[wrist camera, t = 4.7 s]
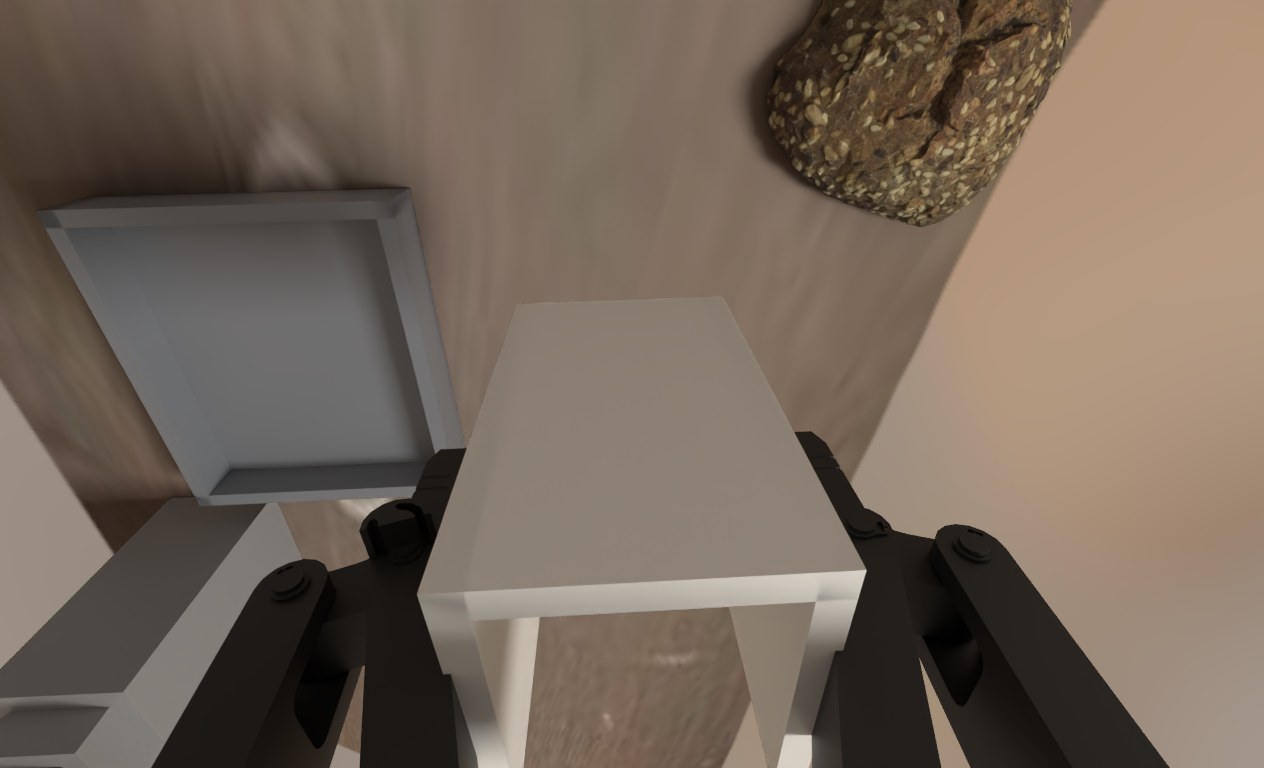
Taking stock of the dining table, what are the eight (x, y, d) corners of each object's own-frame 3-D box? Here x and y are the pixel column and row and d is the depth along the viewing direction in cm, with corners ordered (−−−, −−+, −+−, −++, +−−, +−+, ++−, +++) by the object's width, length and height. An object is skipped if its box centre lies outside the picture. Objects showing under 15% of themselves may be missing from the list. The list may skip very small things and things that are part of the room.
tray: (89, 196, 27) (34, 210, 24) (409, 188, 27) (389, 200, 25) (229, 474, 36) (200, 506, 33) (468, 463, 36) (458, 494, 34)
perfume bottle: (274, 494, 37) (35, 806, 21) (304, 563, 40) (118, 876, 25) (170, 497, 37) (-147, 816, 21) (210, 567, 40) (-38, 886, 24)
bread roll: (912, 249, 31) (963, 279, 26) (732, 134, 27) (756, 147, 23) (1104, 10, 25) (1208, -2, 21) (910, -172, 22) (987, -230, 18)
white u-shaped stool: (516, 304, 16) (416, 594, 7) (722, 296, 16) (866, 570, 7) (538, 466, 19) (486, 807, 10) (711, 458, 19) (803, 785, 10)
